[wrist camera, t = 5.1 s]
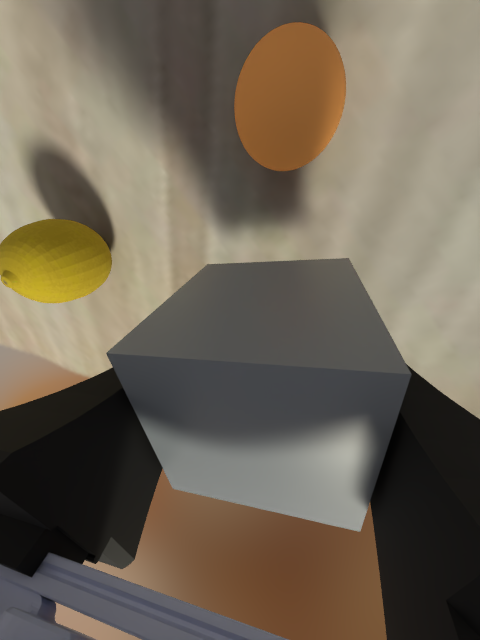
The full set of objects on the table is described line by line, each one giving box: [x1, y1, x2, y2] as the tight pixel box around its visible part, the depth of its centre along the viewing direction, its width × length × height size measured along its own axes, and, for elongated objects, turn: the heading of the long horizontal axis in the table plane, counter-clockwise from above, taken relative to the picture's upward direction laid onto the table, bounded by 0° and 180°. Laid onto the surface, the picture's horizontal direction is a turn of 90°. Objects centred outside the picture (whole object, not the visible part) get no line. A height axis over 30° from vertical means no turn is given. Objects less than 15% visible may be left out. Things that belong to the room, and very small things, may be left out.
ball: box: [234, 22, 346, 171], centre depth 11 cm, size 5×5×5 cm
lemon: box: [0, 219, 112, 303], centre depth 17 cm, size 6×6×8 cm
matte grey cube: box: [106, 258, 411, 532], centre depth 9 cm, size 6×6×7 cm
